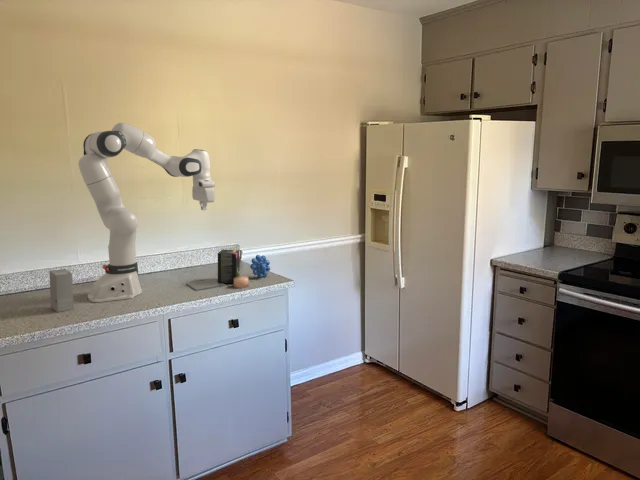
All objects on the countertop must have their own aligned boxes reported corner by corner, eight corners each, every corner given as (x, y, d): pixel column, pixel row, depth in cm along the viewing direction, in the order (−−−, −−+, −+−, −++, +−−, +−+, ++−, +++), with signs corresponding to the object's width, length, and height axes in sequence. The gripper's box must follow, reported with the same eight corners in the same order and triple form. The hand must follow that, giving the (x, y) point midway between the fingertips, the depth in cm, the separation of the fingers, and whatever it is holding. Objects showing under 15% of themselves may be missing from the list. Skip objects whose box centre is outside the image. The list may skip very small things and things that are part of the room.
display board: (196, 290, 223) (196, 289, 223) (186, 284, 233) (186, 283, 233) (225, 285, 231) (225, 284, 231) (214, 279, 241) (214, 278, 241)
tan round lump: (237, 289, 225) (237, 281, 225) (231, 285, 231) (231, 277, 230) (251, 286, 229) (251, 278, 229) (244, 283, 235) (244, 275, 234)
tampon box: (236, 283, 233) (236, 253, 231) (217, 282, 233) (217, 252, 231) (240, 278, 244) (240, 249, 242) (221, 277, 244) (222, 249, 242)
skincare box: (50, 308, 199) (46, 270, 196) (69, 304, 204) (65, 267, 201) (57, 313, 193) (53, 274, 190) (76, 309, 198) (72, 271, 195)
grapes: (255, 281, 238) (254, 257, 236) (248, 278, 243) (247, 255, 241) (275, 277, 246) (274, 254, 243) (267, 274, 251) (267, 252, 249)
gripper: (188, 181, 248) (190, 208, 250) (203, 184, 231) (205, 212, 234) (200, 181, 251) (201, 207, 254) (216, 183, 235) (217, 211, 238)
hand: (203, 210), depth 244 cm, fingers closed
